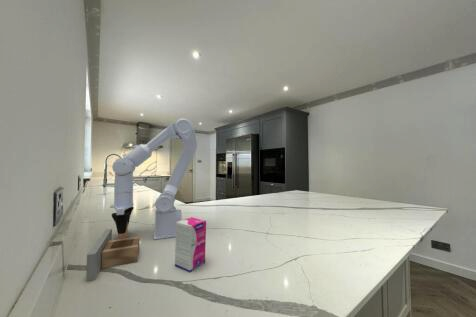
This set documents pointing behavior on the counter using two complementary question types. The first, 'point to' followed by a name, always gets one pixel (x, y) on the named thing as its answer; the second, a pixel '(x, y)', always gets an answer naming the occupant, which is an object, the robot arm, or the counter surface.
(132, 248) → the socket block
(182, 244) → the supplement box
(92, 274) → the wall
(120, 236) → the dowel
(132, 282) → the counter surface
